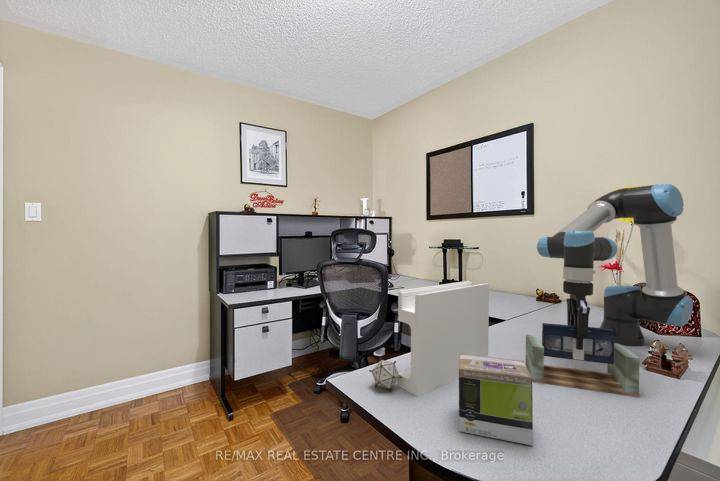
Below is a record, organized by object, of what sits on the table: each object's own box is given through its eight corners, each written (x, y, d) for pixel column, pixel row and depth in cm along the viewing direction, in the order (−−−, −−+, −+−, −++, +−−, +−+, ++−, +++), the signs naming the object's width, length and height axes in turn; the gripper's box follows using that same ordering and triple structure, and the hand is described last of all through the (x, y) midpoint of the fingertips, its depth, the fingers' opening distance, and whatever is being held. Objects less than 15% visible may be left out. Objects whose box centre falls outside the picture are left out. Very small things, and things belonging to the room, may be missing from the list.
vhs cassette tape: (543, 356, 97) (543, 324, 97) (541, 352, 99) (541, 322, 99) (614, 365, 90) (615, 331, 90) (610, 361, 93) (611, 328, 93)
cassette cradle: (618, 378, 96) (619, 343, 96) (638, 397, 85) (639, 358, 85) (525, 365, 105) (525, 334, 105) (532, 381, 94) (532, 346, 93)
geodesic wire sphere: (384, 404, 88) (374, 385, 82) (371, 381, 95) (360, 362, 89) (410, 385, 89) (401, 365, 84) (395, 364, 97) (386, 345, 91)
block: (418, 396, 84) (418, 295, 84) (397, 385, 91) (398, 290, 90) (488, 365, 106) (489, 283, 105) (467, 357, 112) (468, 280, 111)
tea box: (524, 420, 74) (525, 359, 74) (533, 448, 64) (534, 378, 64) (458, 408, 79) (459, 351, 79) (457, 432, 69) (458, 367, 69)
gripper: (603, 285, 86) (601, 369, 86) (583, 278, 100) (582, 350, 101) (571, 284, 88) (569, 365, 89) (557, 277, 103) (555, 347, 103)
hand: (576, 357), depth 95 cm, fingers closed on vhs cassette tape, 2 cm apart
